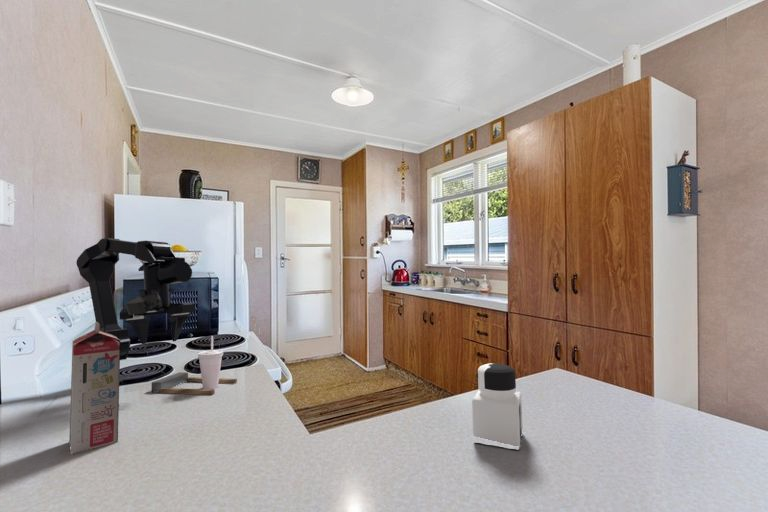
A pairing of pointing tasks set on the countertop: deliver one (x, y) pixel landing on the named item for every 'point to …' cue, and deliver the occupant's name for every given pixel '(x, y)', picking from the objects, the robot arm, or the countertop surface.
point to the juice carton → (94, 390)
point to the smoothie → (210, 367)
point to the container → (497, 405)
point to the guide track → (181, 377)
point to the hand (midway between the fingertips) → (159, 342)
